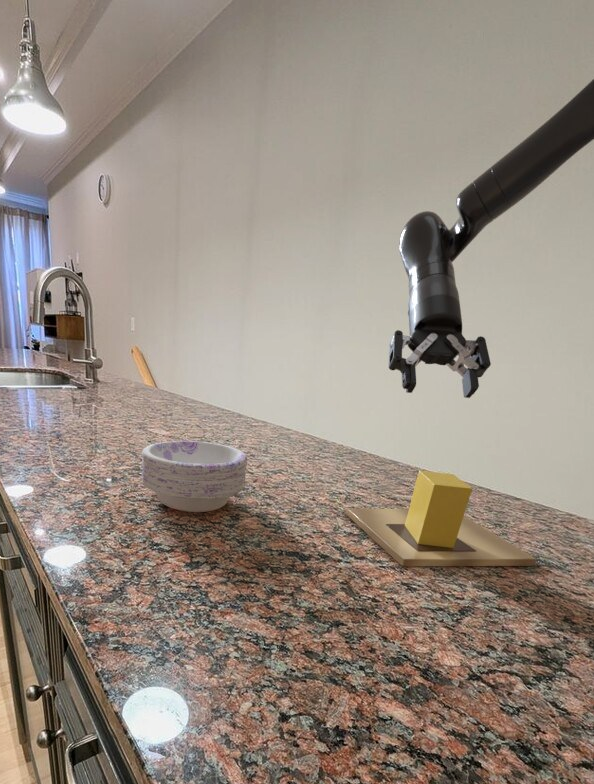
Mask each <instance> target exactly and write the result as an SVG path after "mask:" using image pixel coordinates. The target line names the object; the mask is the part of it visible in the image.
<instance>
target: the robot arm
mask: <svg viewBox="0 0 594 784" xmlns="http://www.w3.org/2000/svg"><path fill="white" fill-rule="evenodd" d="M592 141H594V78H593V79H592V80H591V81H590V82H588V83H587V85H585V86H584V87H583V88H582V89H581V90H580V91H579V92H578V93H577V94H576V95H575V96H574V97H572V99H570V101H568V102H567V103H565V105H564V106H563V107H562V108H560V109H559V110H558V111H557V112H556V113H555V114H554V115H552V116H551V117H550V118H549V119H548V120H547V121H545V123H543V124H542V125H540V127H538V128H537V129H536V130H534V131H533V132H532V133H531V134H530V135H528V136H527V137H526V138H524V140H522V141H521V142H520V143H519V144H517V145H516V146H515V147H513V149H511V150H510V151H509V152H507V153H506V154H504V155H503V157H501V158H500V159H499V160H497V161H496V162H495V163H493V164H492V165H491V166H490V167H489V168H488V169H486V170H485V171H484V172H483V173H481V174H480V175H479V176H478V177H476V178H475V179H474V180H473V181H472V182H470V184H468V185H467V186H466V187H464V189H462V190H461V191H460V192H459V194H458V195H457V197H456V199H455V205H456V209H457V212H458V215H459V216H458V219H457V220H456V222H455V223H454V224H453V225H452V227H451V228H450V229H449V228H448V226H447V225H446V224H445V222H444V221H443V219H442V217H440V216H439V215H438V214H437V213H436V212H434V211H430V210H425V211H420V212H419V213H416V214H415V215H413V216H412V217H411V218H410V219H408V221H407V223H405V225H404V226H403V228H402V230H401V233H400V235H399V241H398V249H399V254H400V258H401V260H402V261H401V262H402V264H403V267H404V270H405V272H406V275H407V279H408V296H409V298H408V308H407V309H408V311H407V316H408V326H409V335H404V333H403V331H402V330H399V329H398V330H396V331H394V333H393V335H392V338H391V340H390V342H389V350H388V351H389V352H388V369H389V370H390V371H396V370H397V371H400V373H401V387H402V388H403V389H404V390H405V393H407V394H408V393H409V394H412V393H413V392H414V390H415V388H416V387H417V374H416V373H417V372H416V371H417V370H416V368H417V366H418V365H419V364H420V363H421V362H423V363H424V365H439V366H447V367H448V369H450V370H451V371H452V372H457V374H459V375H460V376H461V377H462V379H461V384H462V392H463V398H465V399H471V397H472V396H473V395H474V394H475V393H476V392H477V390H478V389H479V387H480V384H479V383H480V382H479V378H482V377H483V376H484V374H485V373H486V371H487V370H488V369H489V368H490V367H491V364H492V363H491V358H490V354H489V350H488V346H487V340H486V338H485V337H484V336H481V335H480V336H477V338H476V339H475V340H474V339H473V340H470V339H466V337H464V335H463V319H462V310H461V302H460V293H459V291H458V287H457V284H456V276H455V268H454V265H453V262H454V261H455V260H457V258H458V257H459V256H460V255H461V253H463V251H464V250H465V249H466V248H467V247H468V246H469V245H470V244H471V243H472V241H474V240H475V238H476V237H477V236H478V235H479V234H480V233H481V232H482V231H483V229H485V228H486V227H487V226H488V225H489V224H491V223H492V222H494V221H495V220H497V219H498V218H500V216H502V215H503V214H505V213H506V212H507V211H508V210H510V209H511V208H513V207H514V206H515V205H517V204H518V203H519V202H520V201H522V200H523V199H525V198H526V197H527V196H528V195H529V194H530V193H532V192H533V191H534V190H535V189H537V188H538V187H539V186H540V185H542V184H543V183H544V182H545V181H546V180H547V179H548V178H549V177H550V176H551V175H553V174H554V173H555V172H556V171H558V170H559V168H561V167H562V166H563V165H564V164H565V163H567V161H569V160H570V159H571V158H572V157H574V155H576V154H577V153H578V152H579V151H581V150H582V149H583V148H584V147H586V146H587V145H589V144H590V143H591V142H592ZM405 346H407V347H408V349H409V350H411V352H412V353H410V355H409V356H408V357H407V358H404V357H403V349H404V348H405ZM457 356H458V358H457ZM455 358H457V360H455Z"/></svg>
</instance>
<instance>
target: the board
mask: <svg viewBox="0 0 594 784" xmlns="http://www.w3.org/2000/svg"><path fill="white" fill-rule="evenodd" d="M408 511H409V508H355V507H354V508H353V507H352V508H351V507H347V508H346V513H345V514H346V516H347V517H348V518H350V520H351V521H353V522H354V523H355V524H356V525H357V526H358V527H359V528H360V529H361V530H362V531H364V533H365V534H367V535H368V536H369V538H371V539H372V540H373V541H374V542H375V543H376V544H377V545H378V546H379V547H381V548H382V549H383V550H384V551H385V552H386V553H387V554H388V555H389V556H391V558H393V559H394V560H395V561H396V562H397V563H398V564H399V565H400V566H401V567H534V566H535V565H536V563H537V560H538V559H537V558H536V557H534V556H532V555H531V554H529V552H528V553H527V552H526V551H525V550H523V549H521V548H520V547H518V546H516V545H514V544H512V543H511V542H509V541H507V540H506V539H505V538H503V537H501V536H499V535H497V534H496V533H494V532H492V531H491V530H489V529H488V528H485V527H484V526H482V525H481V524H478V523H477V522H475V521H474V520H472V519H470V518H469V517H467V516H465V515H464V517H463V520H462V523H461V526H460V529H459V532H458V536H457V539H456V542H455V545H454V548H448V547H440V546H431V545H423V544H418V543H417V542H416V540H415V539H414V538H413V536H412V535H411V534H410V532H409V531H408V529H407V528H406V527H405V522H406V518H407V515H408Z"/></svg>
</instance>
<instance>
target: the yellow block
mask: <svg viewBox="0 0 594 784" xmlns="http://www.w3.org/2000/svg"><path fill="white" fill-rule="evenodd" d="M472 491H473V488H472V487H471V486H470V485H468V484H467V483H466V482H464V481H463V480H461V478H459V477H458V476H457V475H455V474H454V473H449V472H448V473H446V472H438V471H437V472H436V471H427V470H419V471H418V473H417V477H416V481H415V484H414V488H413V492H412V496H411V500H410V505H409V507H408V509H409V511H408V515H407V518H406V522H405V527H406V528H407V529H408V531H409V532H410V534H411V535H412V536H413V538H414V539H415V540H416V542H417V543H418V544H423V545H431V546H440V547H448V548H454V545H455V542H456V539H457V536H458V532H459V529H460V526H461V523H462V520H463V517H464V516H465V514H466V511H467V507H468V504H469V500H470V497H471V494H472Z"/></svg>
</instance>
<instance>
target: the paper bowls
mask: <svg viewBox="0 0 594 784" xmlns="http://www.w3.org/2000/svg"><path fill="white" fill-rule="evenodd" d="M141 456H142V458H141V460H142V461H141V482H142V485H143V486H144V487H145V488H147V489H148V490H150V491H152V492H154V493H155V496H156V498H157V499H158V500H159V503H161V504H163V505H164V506H166V507H168V508H170V509H173V510H175V511H176V510H177V511H181V512H187V513H207V512H212V511H216V510H218V509H221V508H223V507H224V506H225V505H226V504H227V503H228V502H229V500H230V498H231V497H232V496H236V495H238V494H240V493H241V492H242V491H244V489H245V485H246V483H245V482H246V476H247V472H246V471H247V465H248V456H247V455H246V453H244V451H242V450H240V449H238V448H235V447H233V446H229V445H225V444H221V443H214V442H207V441H195V440H194V441H193V440H174V441H162V442H156V443H152V444H149V445H147V446H145V447H144V448H143V450H142V452H141Z"/></svg>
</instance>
